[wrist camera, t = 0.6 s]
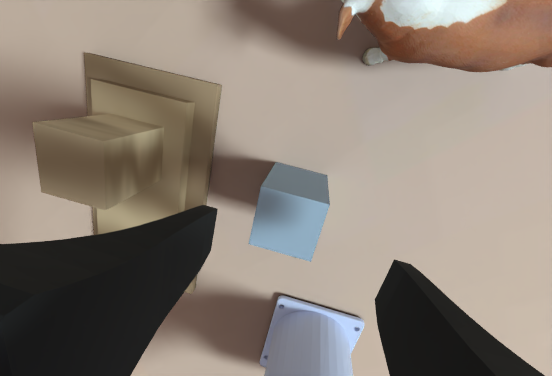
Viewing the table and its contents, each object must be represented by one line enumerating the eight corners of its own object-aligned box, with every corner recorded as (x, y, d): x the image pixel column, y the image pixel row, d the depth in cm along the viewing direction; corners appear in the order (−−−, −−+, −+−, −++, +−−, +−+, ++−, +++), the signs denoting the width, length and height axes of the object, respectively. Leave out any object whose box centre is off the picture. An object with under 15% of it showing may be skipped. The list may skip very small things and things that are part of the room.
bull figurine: (319, -20, 16) (318, -124, 8) (564, 4, 14) (835, -93, 7) (306, 60, 17) (296, 37, 10) (525, 88, 16) (711, 87, 8)
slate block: (313, 220, 21) (310, 261, 16) (265, 207, 21) (248, 243, 16) (327, 175, 20) (329, 204, 15) (276, 161, 20) (260, 186, 15)
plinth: (195, 288, 26) (185, 303, 24) (101, 260, 26) (85, 273, 25) (221, 85, 19) (210, 84, 17) (93, 54, 19) (68, 50, 17)
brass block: (161, 179, 20) (105, 210, 15) (112, 166, 20) (41, 192, 15) (164, 127, 18) (103, 141, 13) (111, 113, 19) (31, 122, 13)
